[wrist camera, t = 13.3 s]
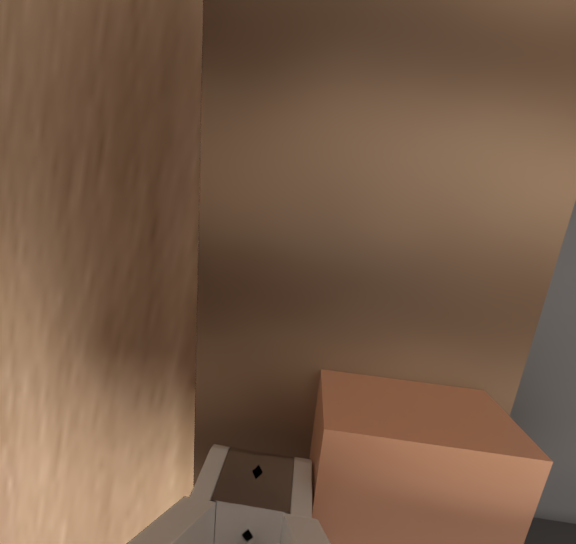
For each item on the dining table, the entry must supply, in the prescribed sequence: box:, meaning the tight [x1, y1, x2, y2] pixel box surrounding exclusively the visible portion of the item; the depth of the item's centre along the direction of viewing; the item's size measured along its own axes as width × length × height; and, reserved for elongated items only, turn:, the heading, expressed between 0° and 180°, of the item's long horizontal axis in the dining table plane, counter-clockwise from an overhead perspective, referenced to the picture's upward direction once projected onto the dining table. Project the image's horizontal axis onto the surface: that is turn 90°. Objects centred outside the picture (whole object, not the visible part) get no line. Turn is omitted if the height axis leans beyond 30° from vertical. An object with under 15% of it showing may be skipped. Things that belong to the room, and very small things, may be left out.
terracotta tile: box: [309, 369, 553, 544], centre depth 8 cm, size 5×5×2 cm
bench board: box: [194, 0, 576, 485], centre depth 10 cm, size 22×10×3 cm, turn 175°
